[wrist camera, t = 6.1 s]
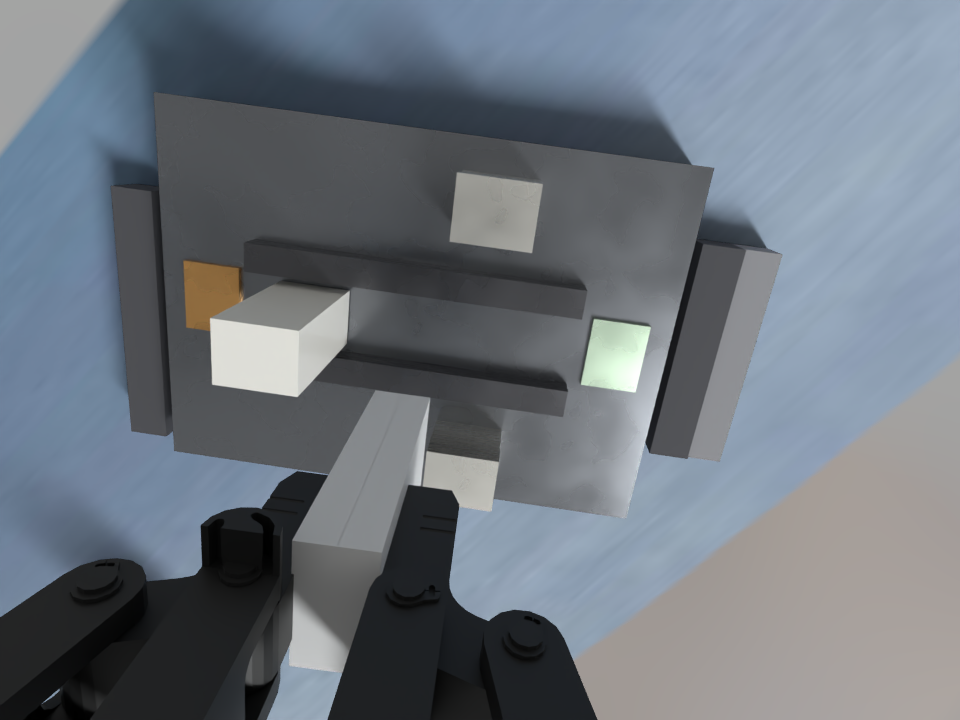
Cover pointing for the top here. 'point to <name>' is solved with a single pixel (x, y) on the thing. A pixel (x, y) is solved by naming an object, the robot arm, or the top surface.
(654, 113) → the top surface
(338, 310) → the lever
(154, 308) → the dark gray bar
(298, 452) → the panel
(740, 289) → the narrow gray bar
